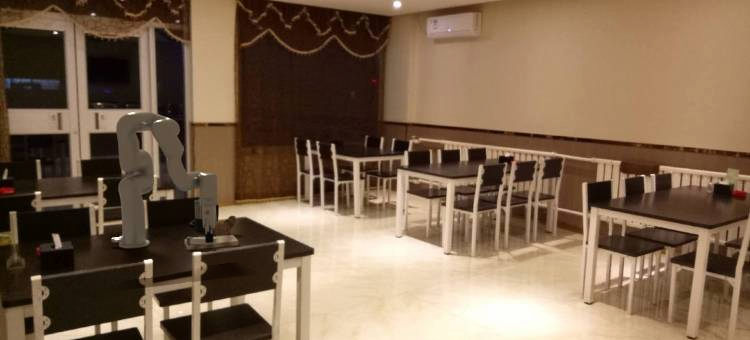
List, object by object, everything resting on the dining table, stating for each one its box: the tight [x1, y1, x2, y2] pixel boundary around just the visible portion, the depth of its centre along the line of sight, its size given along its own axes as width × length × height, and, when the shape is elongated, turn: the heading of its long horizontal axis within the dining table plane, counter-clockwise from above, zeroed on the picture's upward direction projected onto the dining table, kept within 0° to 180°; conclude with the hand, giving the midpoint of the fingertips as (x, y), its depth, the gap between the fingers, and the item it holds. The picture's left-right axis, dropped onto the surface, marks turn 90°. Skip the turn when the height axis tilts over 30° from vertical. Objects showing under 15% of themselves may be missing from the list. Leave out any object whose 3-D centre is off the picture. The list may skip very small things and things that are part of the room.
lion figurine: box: [213, 215, 237, 236], centre depth 277 cm, size 15×5×9 cm, turn 130°
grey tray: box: [184, 234, 239, 251], centre depth 259 cm, size 22×12×4 cm, turn 116°
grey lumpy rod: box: [186, 236, 217, 244], centre depth 252 cm, size 13×3×3 cm, turn 95°
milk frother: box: [189, 198, 220, 232], centre depth 290 cm, size 14×16×15 cm
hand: (209, 242), depth 249 cm, fingers closed
